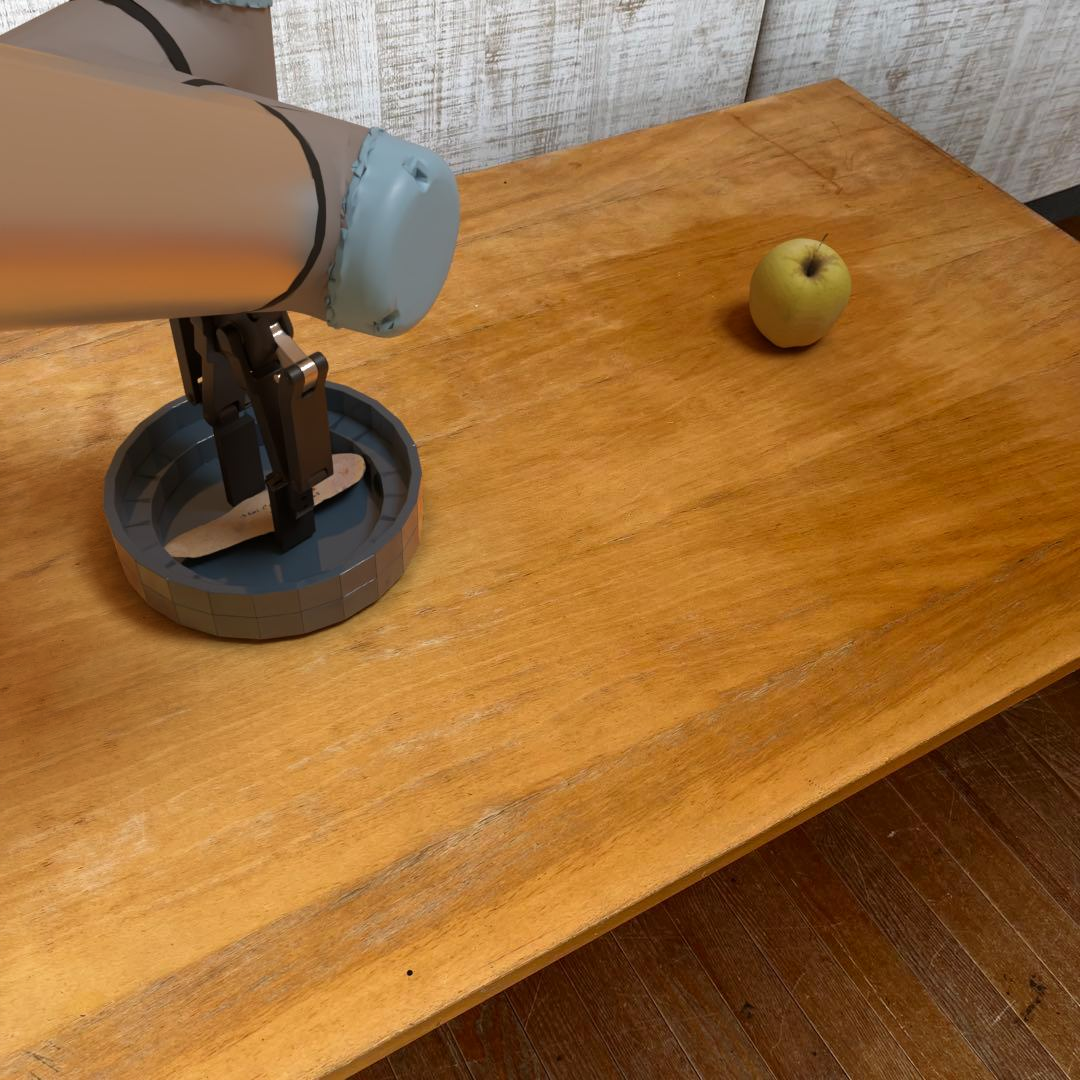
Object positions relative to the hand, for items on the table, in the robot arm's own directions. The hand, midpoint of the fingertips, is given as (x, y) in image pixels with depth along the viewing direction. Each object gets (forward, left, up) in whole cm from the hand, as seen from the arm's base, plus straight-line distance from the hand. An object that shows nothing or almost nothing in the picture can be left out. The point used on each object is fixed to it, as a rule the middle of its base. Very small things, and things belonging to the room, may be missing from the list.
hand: (271, 516), depth 80 cm
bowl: (0, 0, -1) cm, 1 cm away
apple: (+35, -30, -1) cm, 46 cm away
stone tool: (0, 0, 0) cm, 0 cm away
